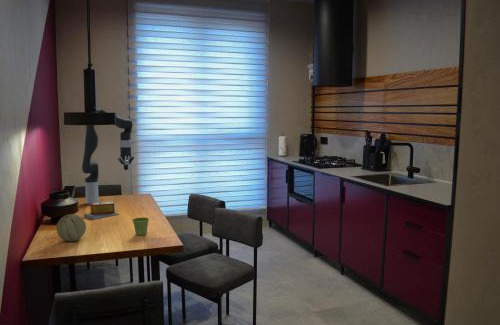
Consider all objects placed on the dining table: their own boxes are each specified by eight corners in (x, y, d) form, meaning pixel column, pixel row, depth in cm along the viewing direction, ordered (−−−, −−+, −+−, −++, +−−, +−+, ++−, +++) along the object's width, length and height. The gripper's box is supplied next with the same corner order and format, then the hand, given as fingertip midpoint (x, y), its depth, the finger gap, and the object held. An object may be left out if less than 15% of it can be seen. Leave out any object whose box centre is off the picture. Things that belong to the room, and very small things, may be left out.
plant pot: (141, 237, 231) (141, 222, 231) (129, 235, 236) (128, 220, 235) (153, 233, 240) (152, 218, 239) (140, 231, 244) (140, 216, 243)
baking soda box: (114, 203, 288) (89, 205, 285) (114, 212, 289) (90, 214, 285) (115, 201, 298) (92, 202, 294) (116, 210, 298) (92, 211, 295)
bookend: (84, 217, 279) (83, 213, 279) (109, 212, 294) (109, 208, 294) (93, 219, 272) (92, 216, 271) (119, 214, 286) (119, 211, 286)
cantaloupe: (92, 237, 231) (90, 211, 229) (75, 245, 217) (74, 217, 215) (68, 236, 234) (67, 210, 233) (51, 243, 220) (49, 216, 219)
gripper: (130, 145, 307) (131, 168, 309) (114, 146, 297) (115, 170, 299) (136, 146, 302) (136, 169, 304) (120, 147, 292) (120, 171, 295)
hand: (126, 169), depth 302 cm, fingers closed
